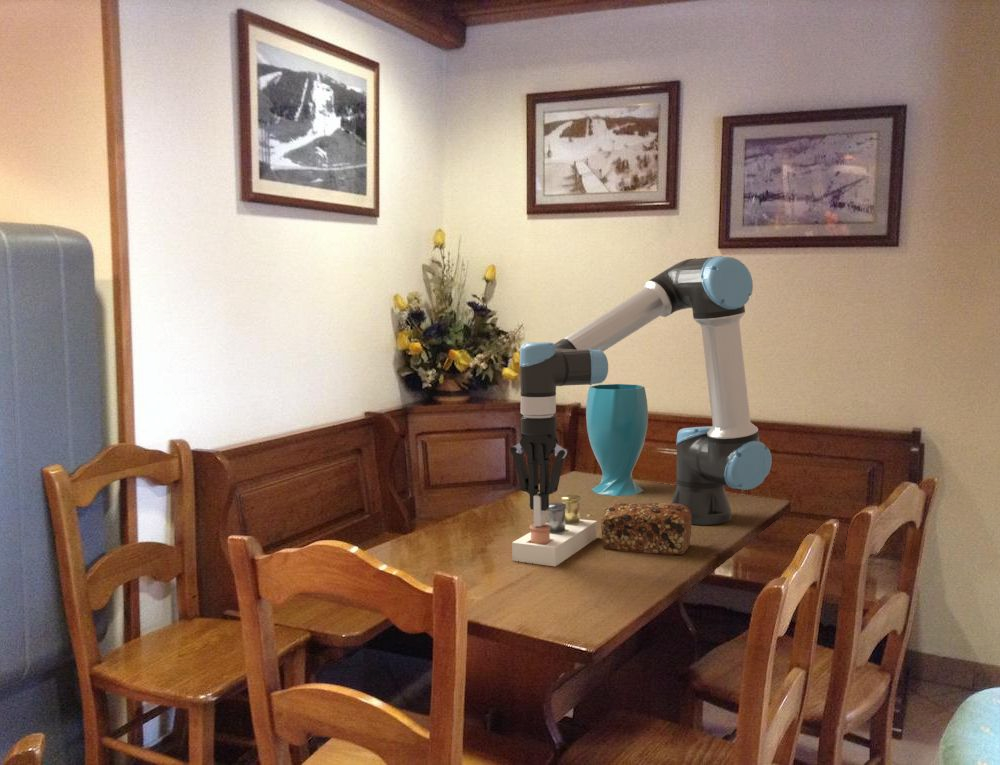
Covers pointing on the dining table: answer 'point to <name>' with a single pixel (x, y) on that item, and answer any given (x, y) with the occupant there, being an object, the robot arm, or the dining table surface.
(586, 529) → the slab
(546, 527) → the terracotta plug
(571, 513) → the brass plug
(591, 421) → the vase
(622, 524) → the bread
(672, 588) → the dining table surface
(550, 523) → the grey plug
